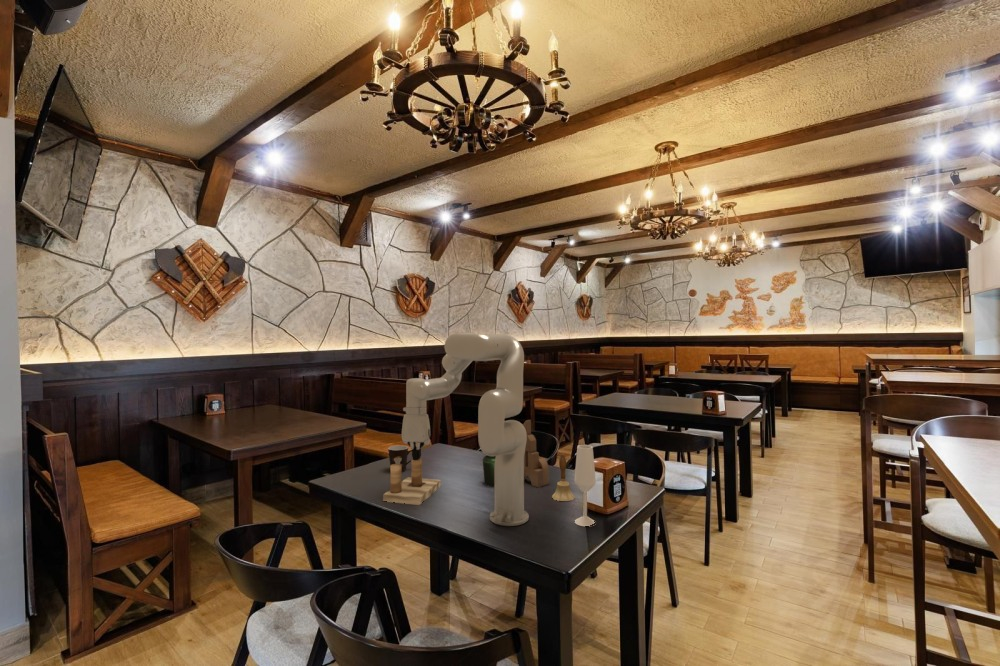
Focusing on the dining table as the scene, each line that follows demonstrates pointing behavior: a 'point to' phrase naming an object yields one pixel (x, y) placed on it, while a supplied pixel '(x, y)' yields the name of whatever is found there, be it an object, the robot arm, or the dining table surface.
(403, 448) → the coffee mug
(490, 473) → the potion bottle
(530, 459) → the wooden toy
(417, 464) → the peg
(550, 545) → the dining table surface
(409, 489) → the board
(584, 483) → the champagne flute
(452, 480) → the dining table surface
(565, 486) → the hand bell
